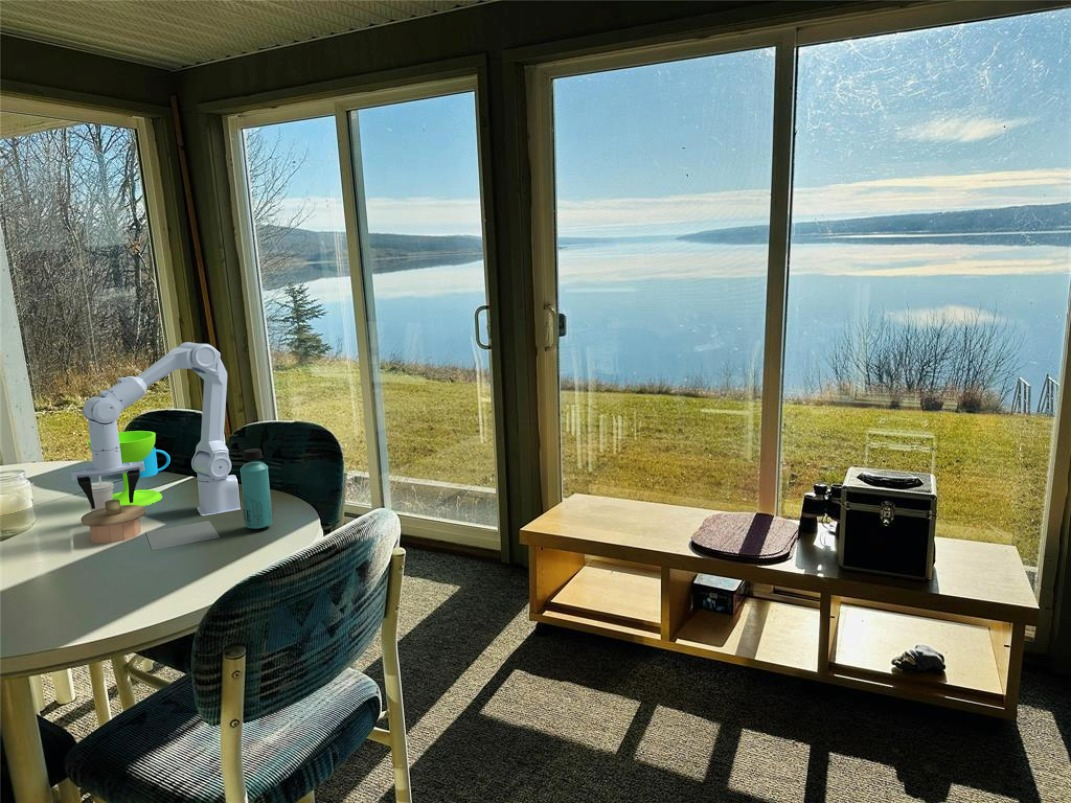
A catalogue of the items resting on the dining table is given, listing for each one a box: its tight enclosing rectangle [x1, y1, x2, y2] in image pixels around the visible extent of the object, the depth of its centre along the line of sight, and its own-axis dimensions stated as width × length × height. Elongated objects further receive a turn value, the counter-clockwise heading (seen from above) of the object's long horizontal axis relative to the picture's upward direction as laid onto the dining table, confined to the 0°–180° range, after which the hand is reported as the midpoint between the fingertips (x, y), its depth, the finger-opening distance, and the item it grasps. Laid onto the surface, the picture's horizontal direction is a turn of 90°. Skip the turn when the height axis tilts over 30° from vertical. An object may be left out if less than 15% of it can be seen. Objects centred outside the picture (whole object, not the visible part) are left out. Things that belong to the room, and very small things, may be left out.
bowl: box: [89, 518, 142, 544], centre depth 167 cm, size 10×10×5 cm
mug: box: [139, 446, 171, 479], centre depth 222 cm, size 12×8×8 cm
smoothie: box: [87, 476, 115, 512], centre depth 177 cm, size 6×6×14 cm
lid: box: [80, 499, 146, 527], centre depth 166 cm, size 13×13×4 cm
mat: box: [145, 520, 221, 551], centre depth 167 cm, size 14×14×1 cm
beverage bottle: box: [239, 448, 274, 529], centre depth 169 cm, size 6×7×20 cm
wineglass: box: [87, 430, 163, 507], centre depth 193 cm, size 16×16×18 cm
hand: (112, 504), depth 166 cm, fingers open, 7 cm apart
